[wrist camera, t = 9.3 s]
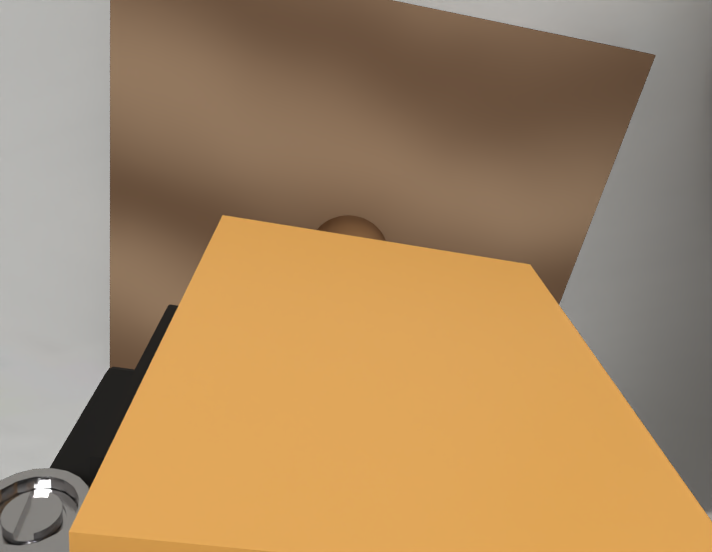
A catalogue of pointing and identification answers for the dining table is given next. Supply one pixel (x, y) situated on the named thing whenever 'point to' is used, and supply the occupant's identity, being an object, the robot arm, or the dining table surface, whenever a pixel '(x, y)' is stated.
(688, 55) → the dining table surface
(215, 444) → the plain orange cube
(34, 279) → the dining table surface
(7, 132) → the dining table surface
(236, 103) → the walnut board
